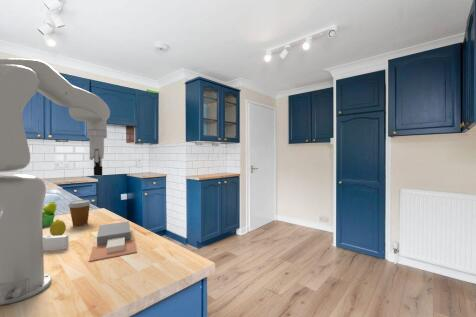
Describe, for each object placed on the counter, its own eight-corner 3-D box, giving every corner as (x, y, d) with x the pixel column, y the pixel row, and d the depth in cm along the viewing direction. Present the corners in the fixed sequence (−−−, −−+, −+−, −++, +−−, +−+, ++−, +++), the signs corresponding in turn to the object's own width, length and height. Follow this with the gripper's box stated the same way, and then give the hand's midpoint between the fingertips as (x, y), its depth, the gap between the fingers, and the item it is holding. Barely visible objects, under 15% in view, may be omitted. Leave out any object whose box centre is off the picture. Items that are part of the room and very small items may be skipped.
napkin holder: (77, 247, 90) (77, 233, 90) (42, 259, 80) (42, 243, 80) (58, 240, 98) (57, 227, 97) (24, 251, 87) (23, 236, 87)
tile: (124, 249, 86) (124, 244, 86) (106, 253, 83) (106, 247, 83) (124, 241, 94) (124, 236, 94) (108, 244, 91) (108, 239, 91)
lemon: (57, 240, 97) (56, 221, 96) (46, 239, 98) (46, 221, 97) (69, 235, 102) (68, 218, 102) (59, 234, 103) (58, 217, 103)
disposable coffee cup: (88, 226, 115) (88, 202, 115) (66, 228, 111) (65, 204, 111) (93, 220, 124) (92, 199, 123) (72, 222, 120) (71, 200, 120)
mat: (136, 252, 84) (136, 251, 84) (88, 262, 77) (88, 260, 77) (134, 240, 96) (134, 239, 96) (92, 247, 89) (92, 246, 89)
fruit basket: (34, 223, 120) (33, 202, 120) (55, 219, 126) (55, 199, 126) (35, 228, 112) (35, 206, 111) (58, 224, 118) (57, 203, 118)
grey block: (130, 241, 95) (130, 231, 95) (97, 247, 90) (96, 237, 90) (129, 229, 109) (128, 221, 109) (100, 234, 104) (99, 225, 104)
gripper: (89, 135, 106) (90, 174, 107) (84, 133, 93) (86, 177, 94) (107, 135, 110) (108, 173, 110) (106, 133, 97) (107, 176, 97)
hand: (98, 175), depth 102 cm, fingers closed
